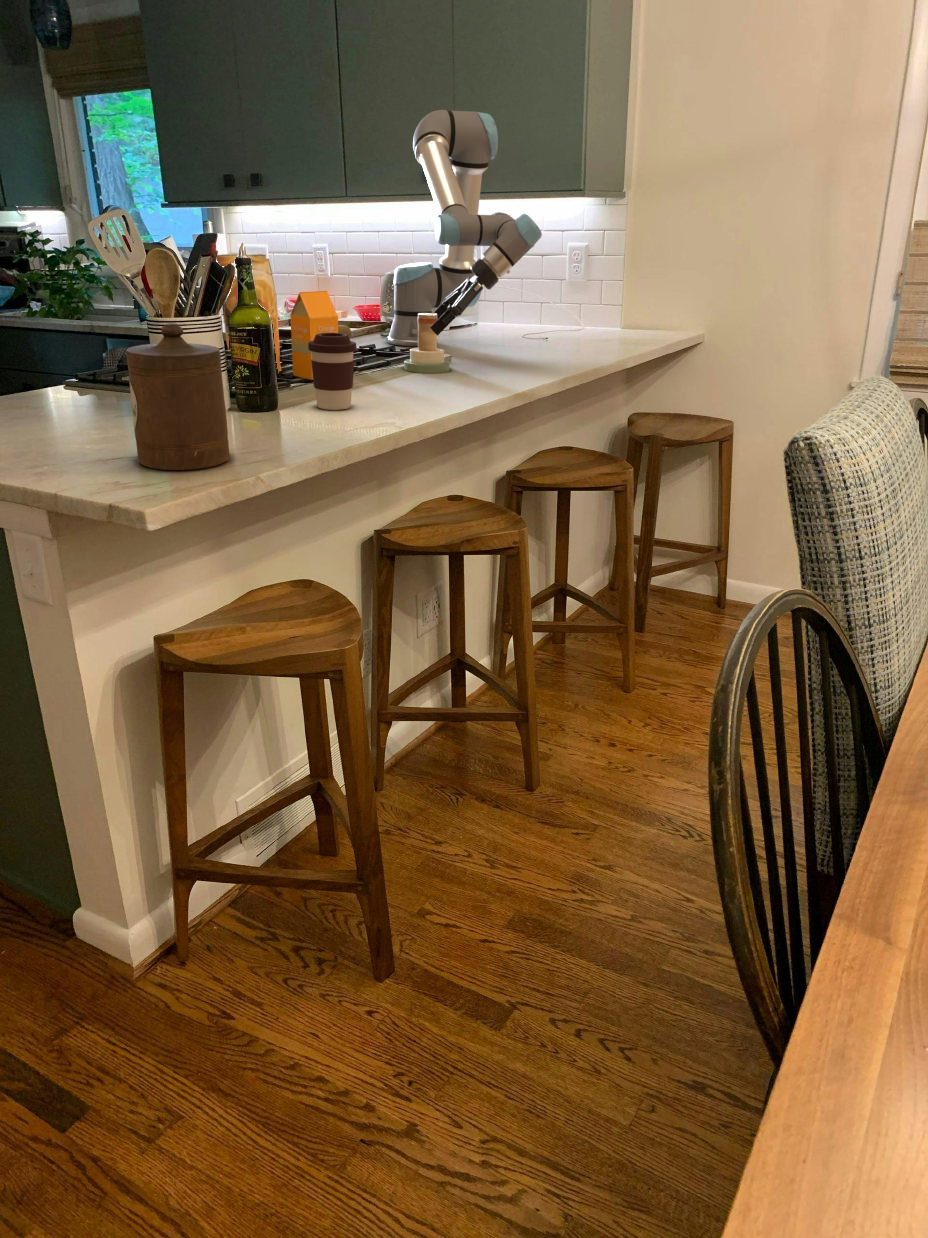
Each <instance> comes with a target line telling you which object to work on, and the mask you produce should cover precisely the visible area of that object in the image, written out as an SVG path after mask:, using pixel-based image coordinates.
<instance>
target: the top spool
mask: <svg viewBox="0 0 928 1238" xmlns="http://www.w3.org/2000/svg"><path fill="white" fill-rule="evenodd" d="M437 320H438V318H437V314H434V313H433V312H432V313H419V314H418V346H417V348H418V350H420V351H436V350H437V348H438V336H437V335H436V334H435V333H434V332H433V330H432V329H431V328H430V327H431V326H432V325H433V324H434V323H435V322H436V321H437Z"/></svg>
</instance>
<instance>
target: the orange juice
mask: <svg viewBox="0 0 928 1238" xmlns="http://www.w3.org/2000/svg"><path fill="white" fill-rule="evenodd" d="M292 307H293V308H292V310H291V313H290V334H291V335H290V336H291V356H292V357H291V358H292V376H294V377H296V378H297V377H298V378H301V379H306V380H310V381H313V373H312V363H311V360H312V352H311V351H310V350H309V349H308V342H310V341H313V340H314V338H315V335H316V334H319V333H338V325H339V315H338V313H337V311H336V308H335V306H334V304H333V302H332V299H331V297H330V294H329V292H328V290H315V291H300V292H298V295H297V298H296V300H295V303H294V305H293V306H292Z"/></svg>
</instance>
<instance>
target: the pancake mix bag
mask: <svg viewBox="0 0 928 1238" xmlns="http://www.w3.org/2000/svg"><path fill="white" fill-rule="evenodd" d="M238 254H239V253H230V254H229V253H228V254H227V253H226V254H217V261H218V263H219V264H220V265H221V266H227V265H228V264H230V263H234V261H235V259H236V257H237V255H238ZM245 255H246V256H247V257H248V258H250V259H251V260H252V270H253V277H254V282H255V289H256V295H257V300H258V303H259V304H260V305H261V306H262V307H264V308H265V309H266V311H267V312H268V313H269V314H270V316H271V320H272V324H273V333H274V342H275V353H276V361H277V368H278V373H277V374H280V372H281V371H282V366H281V358H280V357H281V352H280V336H279V335H280V334H279V333H280V332H279V312H278V301H277V293H276V287H275V282H274V277H273V271H272V267H271V262H270V258H267V255H266V254H263V253H262V254H259V253H258V254H245ZM237 302H238V284H237V277H236V276H235V279H234V281H233V284H232V288H231V292H230V294H229V296H228V298H227V301H226V302H225V305H224V313H223V314H224V318H223V322H224V329H225V339H226V340H225V341H226V346H227V350H228V351H229V336H228V334H229V318H230V315H231V313H232V311H233V310H234V308H235V307H236V305H237Z"/></svg>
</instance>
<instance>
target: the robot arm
mask: <svg viewBox="0 0 928 1238" xmlns="http://www.w3.org/2000/svg"><path fill="white" fill-rule="evenodd" d="M498 135H499V134H498V127H497V125H496V122H495V120H494V118H493V116H491V114H490V113H486V112H480V111H470V110H469V111H467V110H447V109H438V110H434V111H431V112H430V113H427V114H426V115H425V116H424V117H423V118H422V119H421V120H420V121H419V122H418V124H417V125H416V128H415V131H414V133H413V138H412V150H413V153H414V156H415V160H416V161H417V162H418V164H420V165H421V166H422V169H423V172H424V175H425V177H426V180H427V181H426V182H427V184H428V188H429V190H430V193H431V196H432V199H433V202H434V205H435V208H436V211H437V215H436V217H435V221H434V238H435V240H436V242H437V243H438V244H439V245H441V246H445V254H444V256H442V257H441V258H440V259H439V264H438V267H434V265H433V263H432V262H429V261H427V262H425V261H424V262H412V263H407V264H406V263H405V264H402V265H398V266H397V267H396V268H395V269H394V274H393V275H394V276H393V283H392V285H393V319H392V323H391V327H390V331H389V333H380V337H382V338H387V343H388V344H390V345H393V346H401V347H418V314H419V313H434V314H437V318H438V320H437V321H436V322H435V323H434V324H433V325H432V326H431V327H430V328H431V329H432V330H433V332H434V333H435V334H436V335H437V337H438V336H439V335H440V334H441V333H442V332H443V331H444V330H445V329H446V328H447V327H448V326H449V325H450V324H452V322H453V321H454V320H455V319H456V317H458V316H459V317H460V316H462V314H463V312H464V311H465V310H466V309H468V308H472V307H474V306H475V305H476V304H477V303H478V301H479V300H480V298H481V295H482V291H483V290H484V288H486V290H491V289H493V287H494V286H495V285H496V284H497V283H499V281H500V280H499V279H500V278H501V279H502V278H503V277H504V276H505V275H506V274H508V275H509V274H510V273H511V270H510V269H512V267H514V266H515V265H516V264H517V263H518V262H519V261H520V260H521V259H522V258H523V257H524V256H525V255H526V254H527V253H528V252H529V251H530V250H532V249H533V248H534V247H535V245H536V244H537V243H538V242H539V241H540V239H542V236H543V233H542V230H541V228H540V227H539V226H538V224H537V223H536V222H535V221H534V220H533V219H532V217H530V216H529V215H528V214H527V213H522V214H521V215H519V216H518V217H517V218H516V219H515V218H513V217H512V216H511V215H510V214H508V213H505V212H502V211H497V212H494V213H492V214H479V208H480V199H481V190H482V189H481V188H482V179H483V173H484V172H485V171H486V170H488V168H489V163H490V161H492V160H494V159H495V158H496V157H497V153H498V150H499V136H498ZM475 247H488V248H487V249H486V250H485V251H484V252H483V253H482V254H481V258H477V259H476V260H475V258H474V256H475ZM433 309H434V311H433Z"/></svg>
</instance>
